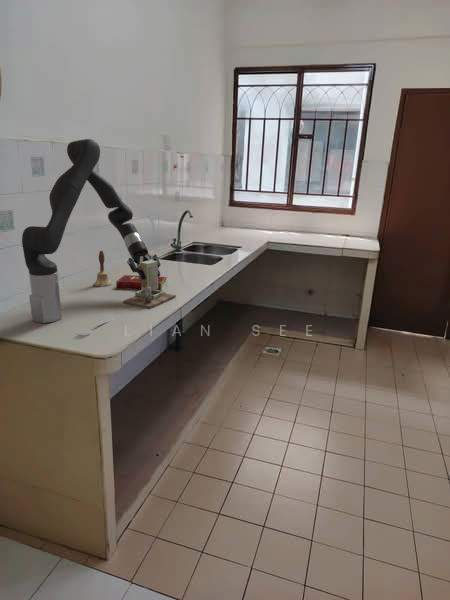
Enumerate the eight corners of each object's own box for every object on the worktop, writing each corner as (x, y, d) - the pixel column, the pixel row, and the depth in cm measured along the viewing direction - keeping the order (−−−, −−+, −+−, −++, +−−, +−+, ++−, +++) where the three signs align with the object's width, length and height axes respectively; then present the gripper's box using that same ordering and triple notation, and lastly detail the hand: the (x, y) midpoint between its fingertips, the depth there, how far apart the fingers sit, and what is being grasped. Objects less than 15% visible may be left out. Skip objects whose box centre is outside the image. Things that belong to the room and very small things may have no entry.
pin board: (150, 308, 167) (150, 291, 165) (122, 303, 173) (122, 286, 171) (175, 297, 183) (175, 281, 181) (149, 292, 189) (148, 277, 187)
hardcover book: (161, 291, 192) (161, 282, 191) (116, 289, 194) (115, 280, 193) (167, 284, 203) (167, 276, 202) (124, 282, 205) (124, 274, 204)
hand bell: (101, 281, 205) (98, 248, 200) (115, 283, 202) (113, 250, 198) (90, 285, 198) (87, 251, 193) (104, 287, 195) (102, 253, 190)
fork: (122, 316, 159) (122, 312, 158) (82, 340, 137) (82, 335, 136) (114, 315, 160) (114, 311, 159) (74, 338, 138) (73, 333, 137)
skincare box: (152, 287, 184) (151, 259, 180) (158, 289, 181) (158, 261, 178) (140, 290, 179) (139, 261, 176) (147, 292, 177) (146, 263, 173)
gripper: (123, 242, 175) (140, 275, 170) (152, 238, 184) (169, 270, 180) (117, 252, 180) (133, 285, 175) (146, 249, 190) (162, 279, 185)
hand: (151, 277), depth 178 cm, fingers closed on skincare box, 6 cm apart
